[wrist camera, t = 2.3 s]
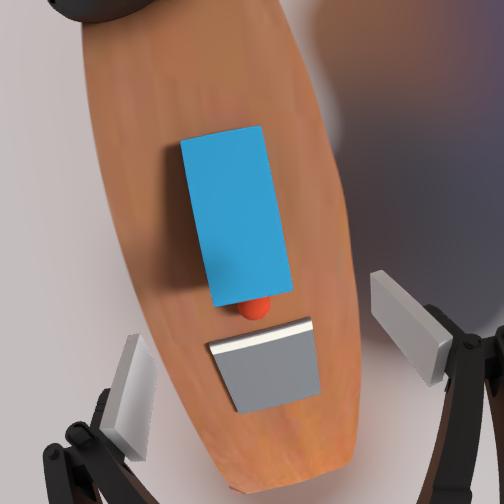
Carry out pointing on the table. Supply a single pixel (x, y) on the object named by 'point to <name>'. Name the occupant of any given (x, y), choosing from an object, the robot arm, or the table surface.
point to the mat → (269, 365)
